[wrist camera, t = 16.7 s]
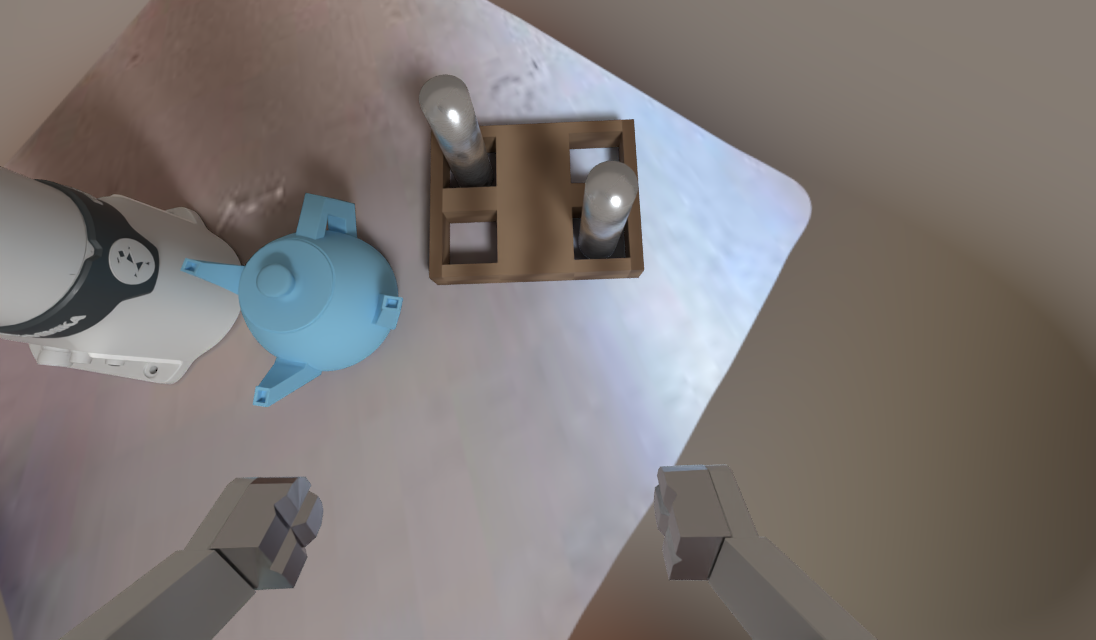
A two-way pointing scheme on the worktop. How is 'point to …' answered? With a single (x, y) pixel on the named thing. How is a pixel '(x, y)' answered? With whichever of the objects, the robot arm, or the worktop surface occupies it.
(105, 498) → the worktop surface
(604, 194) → the pin
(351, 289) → the teapot
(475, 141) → the pin
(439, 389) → the worktop surface
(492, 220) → the socket board
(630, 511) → the worktop surface
